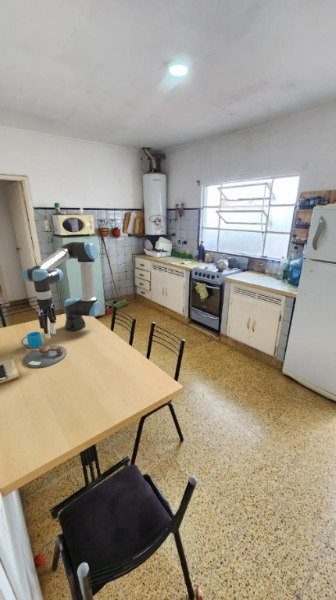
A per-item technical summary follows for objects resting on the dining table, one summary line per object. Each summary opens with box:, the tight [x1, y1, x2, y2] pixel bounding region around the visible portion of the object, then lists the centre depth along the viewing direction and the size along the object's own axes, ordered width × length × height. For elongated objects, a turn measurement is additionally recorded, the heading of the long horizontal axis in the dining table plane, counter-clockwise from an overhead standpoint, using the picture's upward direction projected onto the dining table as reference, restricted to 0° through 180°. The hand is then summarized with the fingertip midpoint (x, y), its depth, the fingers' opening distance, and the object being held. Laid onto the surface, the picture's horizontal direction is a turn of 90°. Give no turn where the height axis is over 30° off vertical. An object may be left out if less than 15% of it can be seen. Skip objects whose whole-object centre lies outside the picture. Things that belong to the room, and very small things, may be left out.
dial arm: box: [25, 345, 63, 355], centre depth 154 cm, size 22×6×4 cm, turn 91°
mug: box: [20, 331, 43, 349], centre depth 166 cm, size 12×8×8 cm
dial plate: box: [22, 344, 68, 369], centre depth 155 cm, size 24×24×4 cm
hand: (50, 335), depth 146 cm, fingers open, 5 cm apart
